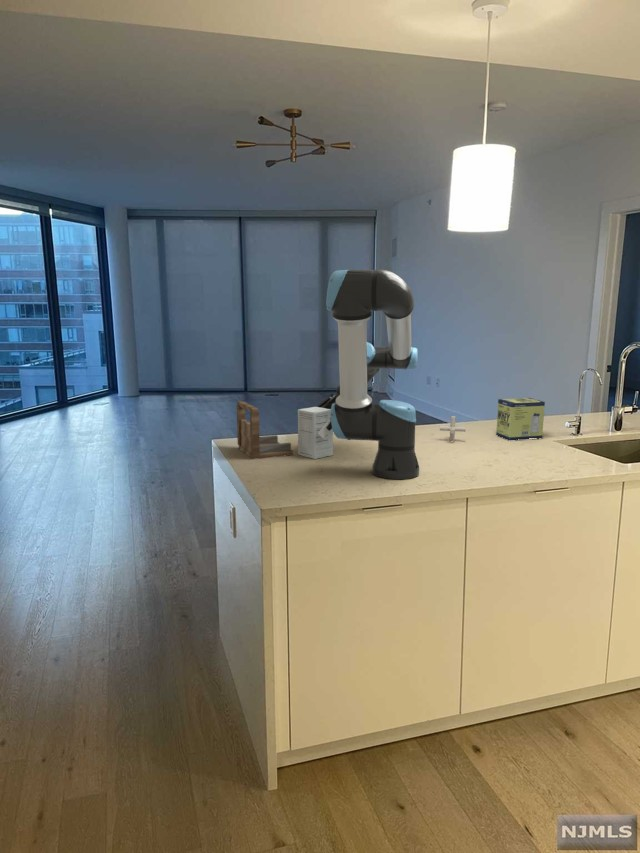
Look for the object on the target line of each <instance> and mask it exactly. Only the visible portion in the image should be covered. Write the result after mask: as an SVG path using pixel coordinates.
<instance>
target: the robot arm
mask: <svg viewBox="0 0 640 853" xmlns="http://www.w3.org/2000/svg"><path fill="white" fill-rule="evenodd" d="M325 302H326V303H325V304H326V310H327V311H329V312H332V318H333V319H334V320H335V321H336V323H337V331H338V332H337V334H338V336H337V337H338V338H337V339H338V368H339V385H338V386H337V387H336V389H335V390H336V394H333V393H331V394H330V395H329V396H328V397H327V398H325V399H323V401H321V403H319V404H318V405H316V406H315V407H320V408H326V409H331V418H330V419H331V420H330V419H329V421H328V422H327V423H326V424H325V425H324V426H323V428H322V429H321V430H320V431H319V432H318V434H319V435H320V436H321V437H322V438H323V439H324V437H325V436H326V435H327V434H328V433H329V432H330V430H331V429H333V436H335V437H336V438H338V439H341V440H347V441H351V440H352V441H353V440H355V441H370V442H371V441H375V442H378V446H377V452H376V454H375V457H374V459H373V463H372V465H371V466H372V468H371V471H372V472H371V473H372V474H373V475H375V476H376V477H379V478H383V479H389V480H390V479H391V480H408V479H414V478H416V477H419V475H420V465H419V461H418V458H417V454H416V452H415V450H416V449H415V445H416V444H415V443H416V438H415V437H416V423H417V418H416V417H417V415H416V411H417V410H416V408H415V407H414V405H412V403H411V404H410V403H408V402H406V401H400V400H395V399H380V401H379V403H378V404H373V398H372V397H371V396H370V395H369V394H368V384H369V383H370V382H371V380H372V379H374V377H375V376H376V375H377V374H378V373H379V372H380V371H381V369H392V370H393V369H394V370H415V369H416V368H417V367H418V358H419V357H418V356H419V354H418V353H419V351H418V348H417V347H412V320H411V319H412V317H411V315H412V313H413V311H414V308H415V298H414V295H413V293H412V290H411V288H410V286H409V285H408V284H407V283H406V281H404V279H402V278H401V277H400V276H399V275H397V274H396V273H394V272H392V271H390V270H386V269H348V268H347V269H343V270H342V269H341V270H334V272H332V273H331V275H330V277H329V281H328V285H327V291H326V300H325ZM378 311H379V312H383V314H384V316H385V319H386V320H385V321H386V331H387V341H388V346H373V344H372V343H371V342H368V340H367V339H368V337H367V336H368V330H367V329H368V328H367V322H368V321H369V320H370V319H371V318H372V316H373V315H372V312H378Z"/></svg>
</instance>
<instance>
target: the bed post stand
mask: <svg viewBox="0 0 640 853" xmlns="http://www.w3.org/2000/svg"><path fill="white" fill-rule="evenodd" d="M236 401H237V403H236V426H237V428H236V431H237V434H236V435H237V445H238V449H239V450H240V449H241V450H242V451H241V450H240V451H241V452H243V451H244V452H245V453H244V452H243V453H244V454H246V455H247V456H248V455H249V456H248V457H250V458H251V457H252V458H253V459H252V458H251V459H252V460H256V459H255V458H259V459H265V458H264V457H268V458H274V457H273V456H277V457H285V456H284V455H286V456H292V455H294V454H293V452H294V451H293V450H292V443H291V442H283V443H282V442H281V443H280V442H279V441H278V437H279V436H278V435H276V434H274V435H267V436H266V435H265V436H260V412H259V407H256V406H255V405H252V404H249V403H248V402H246V401H243V400H236ZM246 411H248V412H249V421H248V420H246Z"/></svg>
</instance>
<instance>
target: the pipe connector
mask: <svg viewBox="0 0 640 853" xmlns="http://www.w3.org/2000/svg"><path fill="white" fill-rule="evenodd" d="M439 431H440V432H441V431H442V432H449V442H450V441H454V442H455V435H456V434H455V433H456V432H467V431H466V426H456V416H450V426H448V425H440V426H439Z"/></svg>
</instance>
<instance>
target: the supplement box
mask: <svg viewBox="0 0 640 853" xmlns="http://www.w3.org/2000/svg"><path fill="white" fill-rule="evenodd" d="M330 418H331V409H326V408H320V407H316V406H312V407H311V406H310V407H304V408H300V409H297V445H298V446H297V453H298V454H297V455H298V456H302V457H306V458H309V459H313V460H317V459H321V458H326V457H329V456H334V432H333V429H331V430H330V432H329V433H328V434H327V435H326V436H325V437H324V439H323V438H322V437H321V436H320V435H319V434H318V432H319V431H320V430H321V429H322V428H323V426H324V425H325V424H326V423H327V422H328V421H329V419H330ZM330 420H331V419H330Z"/></svg>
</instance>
